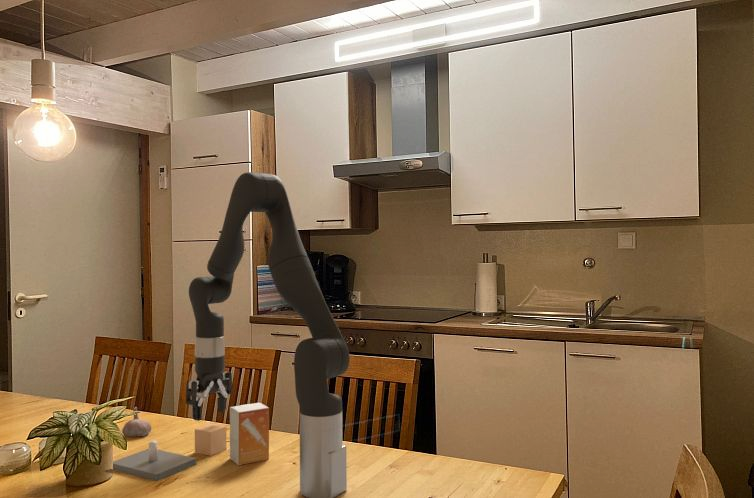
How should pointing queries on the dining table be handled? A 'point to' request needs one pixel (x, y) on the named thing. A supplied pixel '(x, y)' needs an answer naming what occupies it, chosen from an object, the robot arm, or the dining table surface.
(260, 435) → the small box
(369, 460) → the dining table surface
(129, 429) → the garlic bulb
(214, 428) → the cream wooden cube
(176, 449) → the dining table surface
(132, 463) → the flat gray peg block
